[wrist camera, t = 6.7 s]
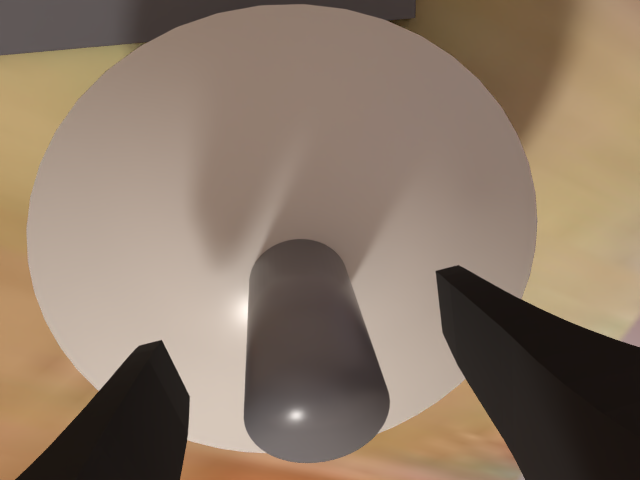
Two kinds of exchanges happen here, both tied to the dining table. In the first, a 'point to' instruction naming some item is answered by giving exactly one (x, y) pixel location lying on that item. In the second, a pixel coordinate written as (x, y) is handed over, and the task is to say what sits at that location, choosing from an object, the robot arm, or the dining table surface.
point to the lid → (279, 222)
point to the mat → (136, 19)
